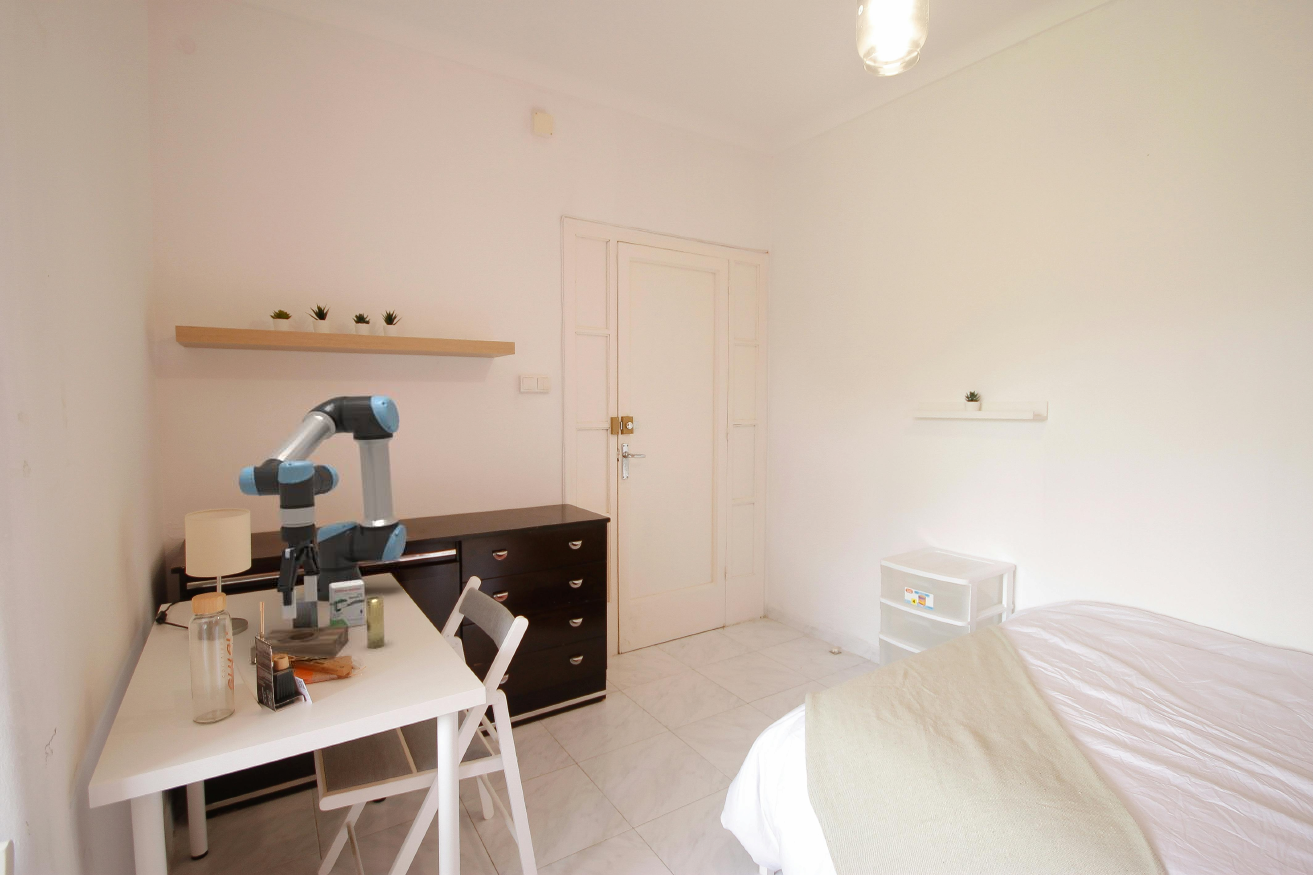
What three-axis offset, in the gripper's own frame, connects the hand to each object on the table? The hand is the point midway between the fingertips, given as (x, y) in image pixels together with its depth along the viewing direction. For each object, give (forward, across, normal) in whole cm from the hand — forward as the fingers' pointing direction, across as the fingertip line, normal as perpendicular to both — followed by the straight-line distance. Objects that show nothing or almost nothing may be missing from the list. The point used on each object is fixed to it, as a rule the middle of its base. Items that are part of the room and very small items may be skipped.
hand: (300, 609), depth 154 cm
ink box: (+11, -19, +5) cm, 23 cm away
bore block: (+11, 0, 0) cm, 11 cm away
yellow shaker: (+11, -1, +17) cm, 20 cm away
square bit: (+11, -11, -3) cm, 16 cm away
